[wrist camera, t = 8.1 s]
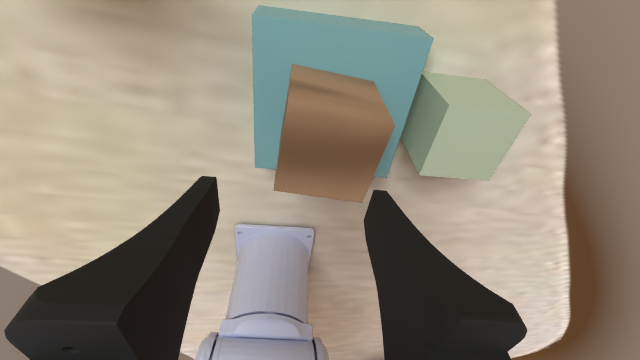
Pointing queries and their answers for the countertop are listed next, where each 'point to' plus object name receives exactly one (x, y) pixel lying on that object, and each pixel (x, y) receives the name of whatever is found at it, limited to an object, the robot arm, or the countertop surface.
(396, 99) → the teal base block
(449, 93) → the sage block
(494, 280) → the countertop surface
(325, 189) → the walnut block
